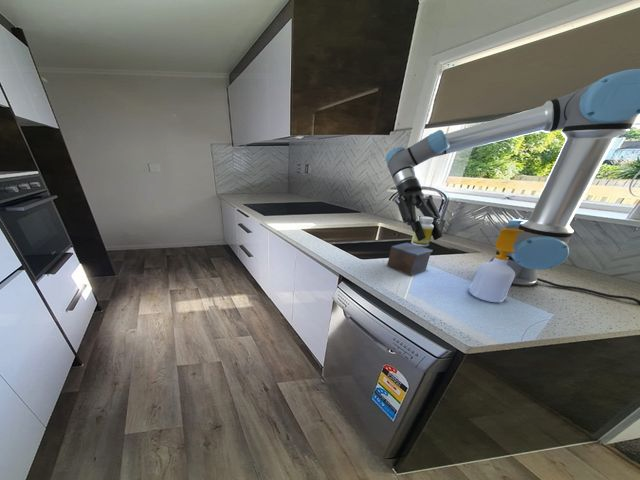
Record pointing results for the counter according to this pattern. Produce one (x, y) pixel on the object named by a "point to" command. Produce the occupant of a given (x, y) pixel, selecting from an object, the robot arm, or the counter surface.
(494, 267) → the soap bottle
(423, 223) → the supplement bottle
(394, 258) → the box
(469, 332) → the counter surface
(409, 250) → the box lid
